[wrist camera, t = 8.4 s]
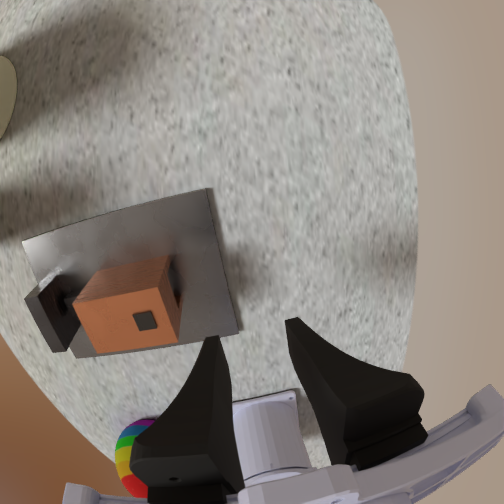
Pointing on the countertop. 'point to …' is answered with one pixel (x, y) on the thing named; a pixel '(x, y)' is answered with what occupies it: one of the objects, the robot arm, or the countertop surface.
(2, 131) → the can
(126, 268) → the orange block
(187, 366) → the countertop surface
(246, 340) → the countertop surface
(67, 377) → the countertop surface
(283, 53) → the countertop surface
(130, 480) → the decorative egg
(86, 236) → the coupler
